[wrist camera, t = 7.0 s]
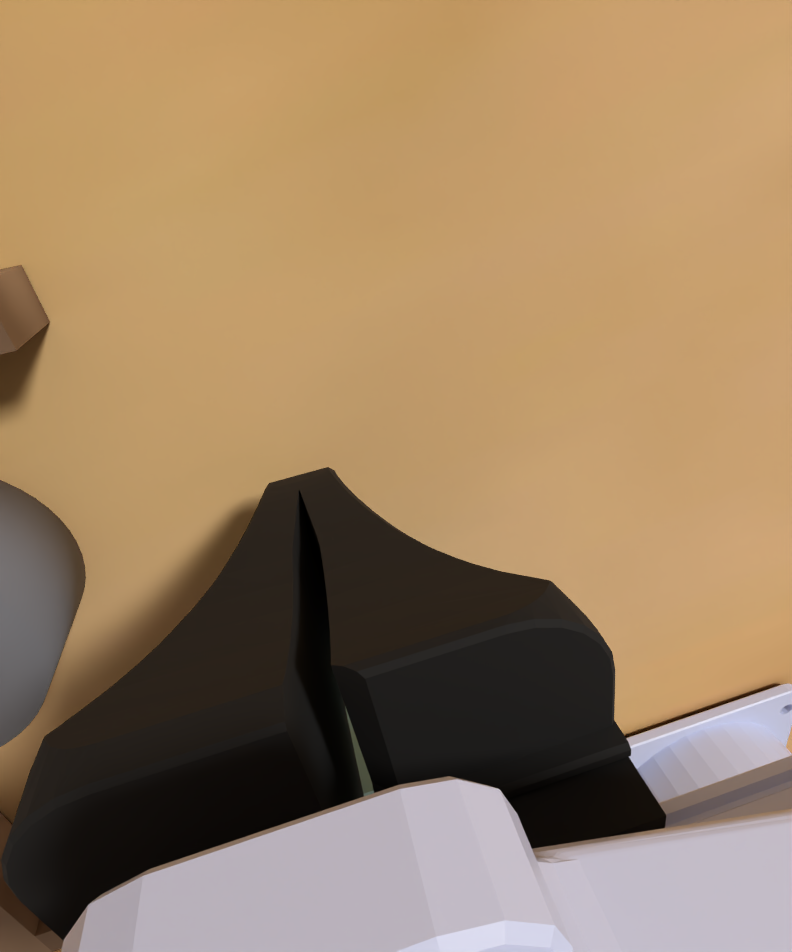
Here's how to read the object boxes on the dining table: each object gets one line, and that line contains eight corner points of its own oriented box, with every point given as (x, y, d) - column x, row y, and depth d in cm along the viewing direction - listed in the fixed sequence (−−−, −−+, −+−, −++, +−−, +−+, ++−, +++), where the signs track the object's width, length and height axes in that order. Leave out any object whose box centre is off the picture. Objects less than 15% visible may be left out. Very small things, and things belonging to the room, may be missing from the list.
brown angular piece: (290, 808, 19) (295, 867, 17) (35, 894, 18) (16, 964, 16) (21, 264, 10) (-20, 285, 8) (-504, 381, 9) (-656, 427, 8)
